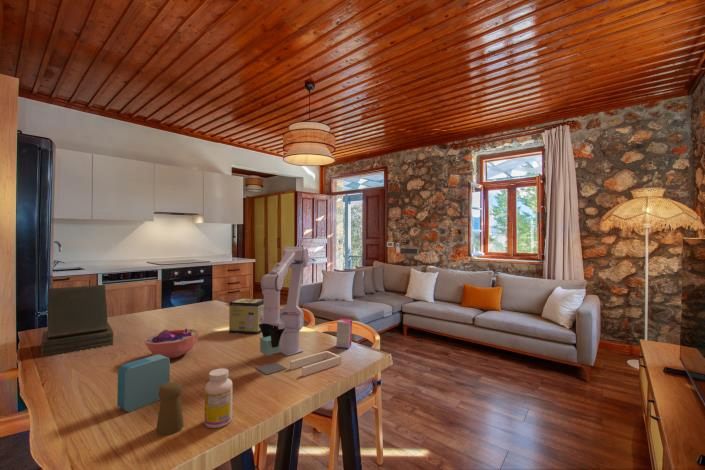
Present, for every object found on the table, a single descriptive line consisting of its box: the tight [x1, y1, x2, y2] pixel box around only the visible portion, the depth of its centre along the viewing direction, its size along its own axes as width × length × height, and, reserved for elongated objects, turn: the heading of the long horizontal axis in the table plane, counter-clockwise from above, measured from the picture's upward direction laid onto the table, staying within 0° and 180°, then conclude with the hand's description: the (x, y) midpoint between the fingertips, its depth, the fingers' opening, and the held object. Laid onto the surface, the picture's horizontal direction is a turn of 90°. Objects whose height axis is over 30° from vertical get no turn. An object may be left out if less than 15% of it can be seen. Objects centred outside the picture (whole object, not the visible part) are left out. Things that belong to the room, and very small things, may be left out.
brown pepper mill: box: [155, 381, 184, 437], centre depth 81 cm, size 6×6×11 cm
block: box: [259, 336, 281, 357], centre depth 119 cm, size 5×5×5 cm
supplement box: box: [335, 318, 353, 350], centre depth 144 cm, size 6×6×12 cm
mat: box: [255, 361, 287, 376], centre depth 119 cm, size 8×8×1 cm
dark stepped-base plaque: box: [40, 284, 114, 358], centre depth 143 cm, size 23×20×25 cm
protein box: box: [228, 298, 264, 335], centre depth 167 cm, size 10×16×16 cm
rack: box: [289, 350, 342, 377], centre depth 121 cm, size 8×17×3 cm, turn 133°
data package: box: [116, 355, 171, 413], centre depth 94 cm, size 12×4×12 cm, turn 148°
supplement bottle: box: [204, 367, 233, 429], centre depth 84 cm, size 7×7×13 cm
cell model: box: [143, 328, 199, 360], centre depth 131 cm, size 17×20×11 cm
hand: (271, 344), depth 119 cm, fingers closed on block, 5 cm apart
